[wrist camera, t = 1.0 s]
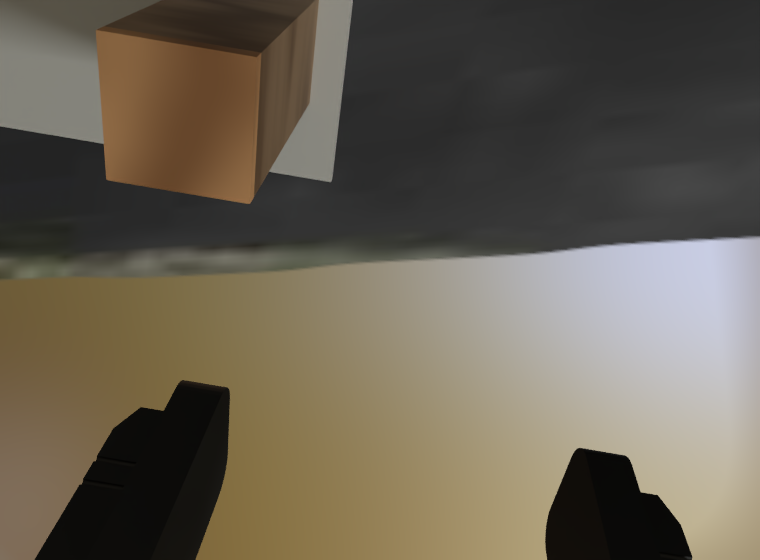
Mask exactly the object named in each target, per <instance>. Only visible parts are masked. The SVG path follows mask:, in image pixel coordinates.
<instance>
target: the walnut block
mask: <svg viewBox="0 0 760 560" xmlns="http://www.w3.org/2000/svg"><path fill="white" fill-rule="evenodd" d="M318 6H319V0H161V1H159V2H157V3H155V4H152V5H150V6H148V7H146V8H144V9H141V10H139V11H137V12H135V13H132V14H130V15H128V16H126V17H123V18H121V19H119V20H117V21H114V22H112V23H110V24H108V25H105V26H103V27H101V28H99V29H97V30H96V42H97V55H98V69H99V83H100V97H101V111H102V124H103V138H104V152H105V166H106V180H110V181H116V182H122V183H128V184H134V185H140V186H146V187H152V188H158V189H163V190H169V191H175V192H181V193H187V194H193V195H199V196H205V197H211V198H217V199H223V200H229V201H235V202H241V203H246V204H250V203H251V201H252V199H253V198H254V196H255V194H256V193H257V191H258V189H259V187H260V186H261V184H262V182H263V181H264V179H265V177H266V176H267V174H268V172H269V171H270V169H271V167H272V166H273V164H274V162H275V161H276V159H277V157H278V155H279V154H280V152H281V150H282V149H283V147H284V145H285V144H286V142H287V140H288V139H289V137H290V135H291V134H292V132H293V130H294V129H295V127H296V125H297V124H298V122H299V120H300V118H301V117H302V115H303V113H304V112H305V110H306V108H307V107H308V105H309V103H310V94H311V83H312V72H313V61H314V50H315V39H316V28H317V17H318Z"/></svg>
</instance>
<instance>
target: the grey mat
mask: <svg viewBox="0 0 760 560" xmlns="http://www.w3.org/2000/svg"><path fill="white" fill-rule="evenodd" d="M159 1H161V0H0V126H2V127H8V128H14V129H20V130H26V131H31V132H37V133H43V134H49V135H55V136H61V137H67V138H73V139H79V140H85V141H91V142H97V143H103V144H104V138H103V124H102V111H101V97H100V83H99V69H98V55H97V42H96V30H97V29H99V28H101V27H103V26H105V25H108V24H110V23H112V22H114V21H117V20H119V19H121V18H123V17H126V16H128V15H130V14H132V13H135V12H137V11H139V10H141V9H144V8H146V7H148V6H150V5H152V4H155V3H157V2H159ZM352 4H353V0H319V6H318V17H317V28H316V39H315V50H314V61H313V72H312V83H311V94H310V103H309V105H308V107H307V108H306V110H305V112H304V113H303V115H302V117H301V118H300V120H299V122H298V124H297V125H296V127H295V129H294V130H293V132H292V134H291V135H290V137H289V139H288V140H287V142H286V144H285V145H284V147H283V149H282V150H281V152H280V154H279V155H278V157H277V159H276V161H275V162H274V164H273V166H272V167H271V169H270V171H269V172H274V173H280V174H286V175H292V176H298V177H304V178H310V179H316V180H322V181H328V182H331V180H332V176H333V168H334V159H335V151H336V142H337V133H338V125H339V116H340V108H341V99H342V90H343V82H344V73H345V64H346V56H347V47H348V39H349V30H350V21H351V13H352Z"/></svg>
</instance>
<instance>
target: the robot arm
mask: <svg viewBox="0 0 760 560" xmlns="http://www.w3.org/2000/svg"><path fill="white" fill-rule="evenodd" d="M229 405H230V392H229V389H228V388H227V387H221V386H215V385H209V384H203V383H197V382H191V381H184V380H182V381H181V382H180V383H179V384H178V385H177V387H176V389H175V391H174V393H173V394H172V397H171V398H170V400H169V402H168V404H167V406H166V408H165V410H164V411H160V410H154V409H148V408H142V407H141V408H139V409H138V410H137V411H135V412H134V413H133V414H131V415H130V416H129V417H128V418H127V419H125V420H124V421H122V422H121V423H120V424H119V425H117V426H116V427H115V428H114V429H113V430H112V432H111V434H110V435H109V437H108V438H107V440H106V442H105V443H104V445H103V447H102V448H101V450H100V452H99V453H98V455H97V460H96V461H94V462H93V463H92V465H91V467H90V468H89V470H88V472H87V474H86V475H85V477H84V478H83V483H82V485H79V487H78V488H77V490H76V492H75V493H74V495H73V497H72V498H71V500H70V502H69V503H68V505H67V507H66V508H65V510H64V512H63V513H62V515H61V517H60V519H59V520H58V522H57V523H56V525H55V527H54V528H53V530H52V532H51V533H50V535H49V537H48V538H47V540H46V542H45V543H44V545H43V547H42V548H41V550H40V552H39V553H38V555H37V557H36V558H35V560H195V559H196V556H197V554H198V551H199V548H200V546H201V543H202V540H203V537H204V535H205V532H206V529H207V526H208V524H209V521H210V518H211V516H212V513H213V510H214V507H215V505H216V502H217V499H218V496H219V494H220V491H221V487H222V484H223V480H224V475H225V470H226V465H227V455H228V431H229V429H228V428H229ZM545 540H546V541H545V543H546V554H547V560H692V555H691V552H690V549H689V546H688V544H687V541H686V538H685V535H684V533H683V530H682V527H681V525H680V524H679V522H678V521H677V519H676V518H675V517H674V516H673V514H672V513H671V512H670V510H669V509H668V508H667V507H666V505H665V504H664V503H663V501H662V500H661V499H660V498H659V496H658V495H653V494H647V493H641V492H640V490H639V486H638V483H637V480H636V477H635V474H634V470H633V467H632V464H631V462H630V460H629V458H628V457H626V456H624V455H618V454H612V453H606V452H601V451H595V450H589V449H583V448H578V449H577V450H576V451H575V452H574V453H573V455H572V457H571V460H570V462H569V465H568V467H567V470H566V472H565V475H564V477H563V479H562V482H561V484H560V487H559V489H558V492H557V494H556V496H555V499H554V501H553V504H552V506H551V509H550V511H549V515H548V519H547V525H546V539H545Z"/></svg>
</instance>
